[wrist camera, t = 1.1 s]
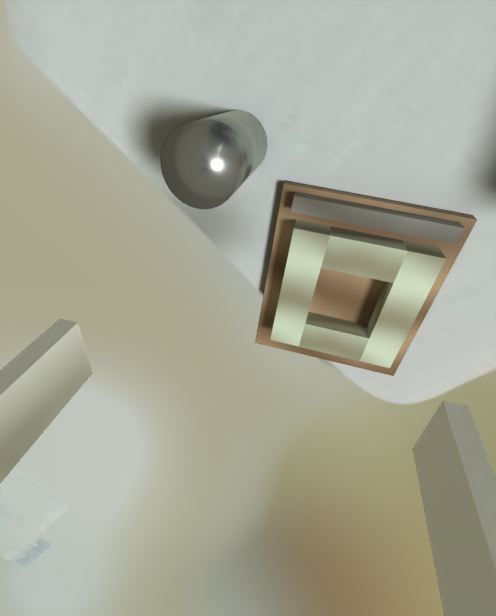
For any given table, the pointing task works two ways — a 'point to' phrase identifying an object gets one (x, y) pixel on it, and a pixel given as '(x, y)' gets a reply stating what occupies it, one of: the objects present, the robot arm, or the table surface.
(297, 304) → the jig
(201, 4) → the table surface
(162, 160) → the brushed metal cylinder
